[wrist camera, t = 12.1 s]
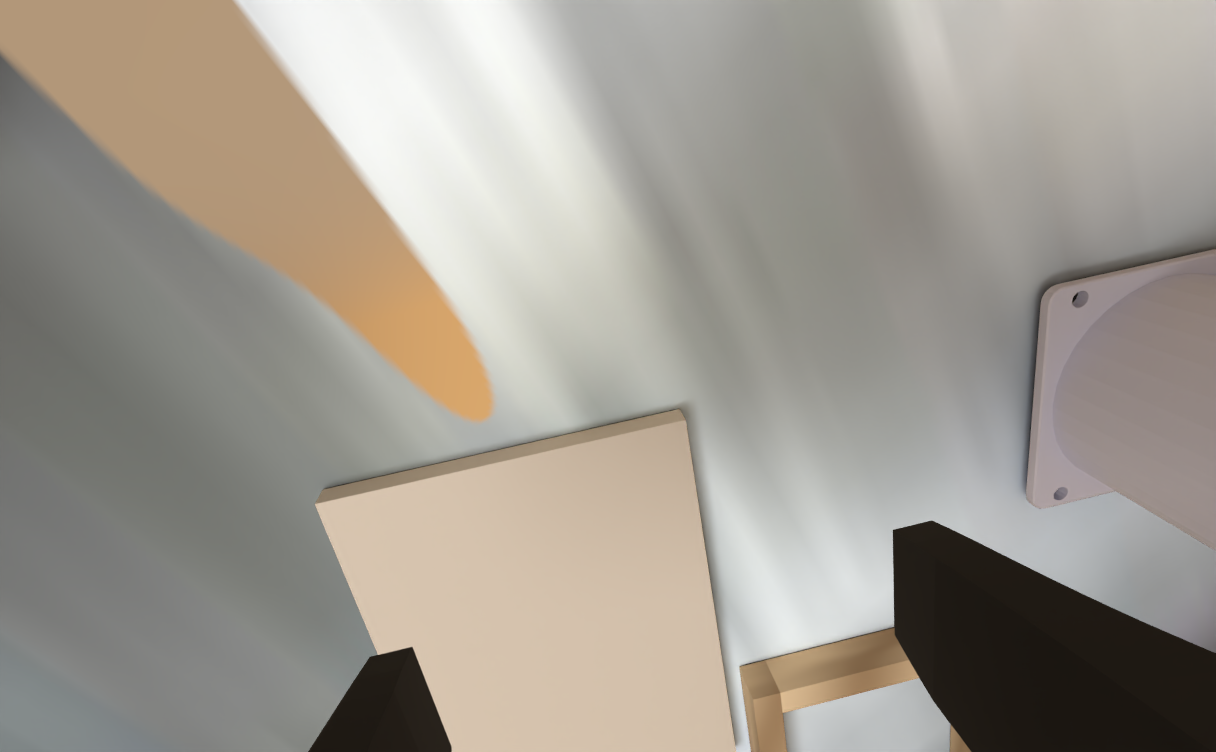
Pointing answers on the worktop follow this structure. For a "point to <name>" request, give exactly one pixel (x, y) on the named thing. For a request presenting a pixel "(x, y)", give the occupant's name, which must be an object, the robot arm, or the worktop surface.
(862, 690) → the wooden square frame
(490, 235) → the worktop surface
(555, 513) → the beige mat
